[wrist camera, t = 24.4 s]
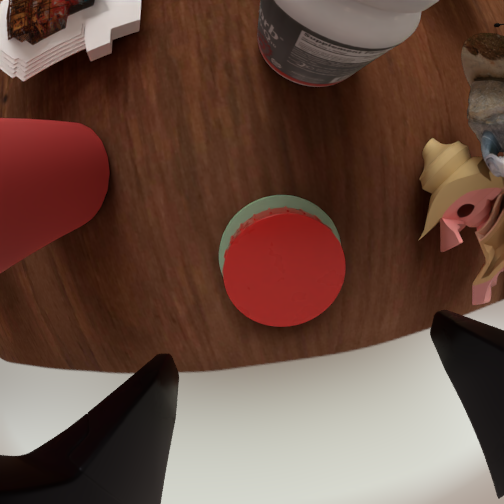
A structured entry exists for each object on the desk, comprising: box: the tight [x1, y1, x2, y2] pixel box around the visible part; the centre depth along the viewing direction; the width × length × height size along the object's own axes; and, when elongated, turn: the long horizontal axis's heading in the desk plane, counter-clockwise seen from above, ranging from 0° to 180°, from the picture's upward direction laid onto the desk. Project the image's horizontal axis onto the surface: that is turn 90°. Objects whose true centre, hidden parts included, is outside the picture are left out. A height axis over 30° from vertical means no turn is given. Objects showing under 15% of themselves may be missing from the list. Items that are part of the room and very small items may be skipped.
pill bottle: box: [257, 0, 439, 87], centre depth 7 cm, size 6×6×10 cm
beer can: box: [0, 118, 110, 273], centre depth 8 cm, size 7×7×12 cm
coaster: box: [219, 195, 341, 276], centre depth 15 cm, size 7×7×1 cm
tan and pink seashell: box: [418, 138, 504, 305], centre depth 11 cm, size 9×10×10 cm
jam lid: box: [222, 206, 346, 327], centre depth 15 cm, size 6×6×2 cm
